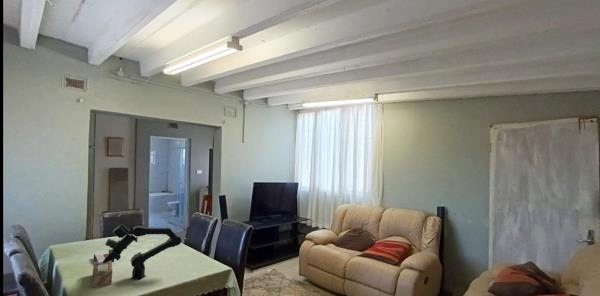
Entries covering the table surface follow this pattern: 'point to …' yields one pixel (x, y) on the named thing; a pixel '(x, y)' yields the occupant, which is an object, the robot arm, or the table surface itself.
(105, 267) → the cream button
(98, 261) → the grey button
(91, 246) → the table surface
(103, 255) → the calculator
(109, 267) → the brown rectangular box
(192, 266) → the table surface
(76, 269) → the table surface
